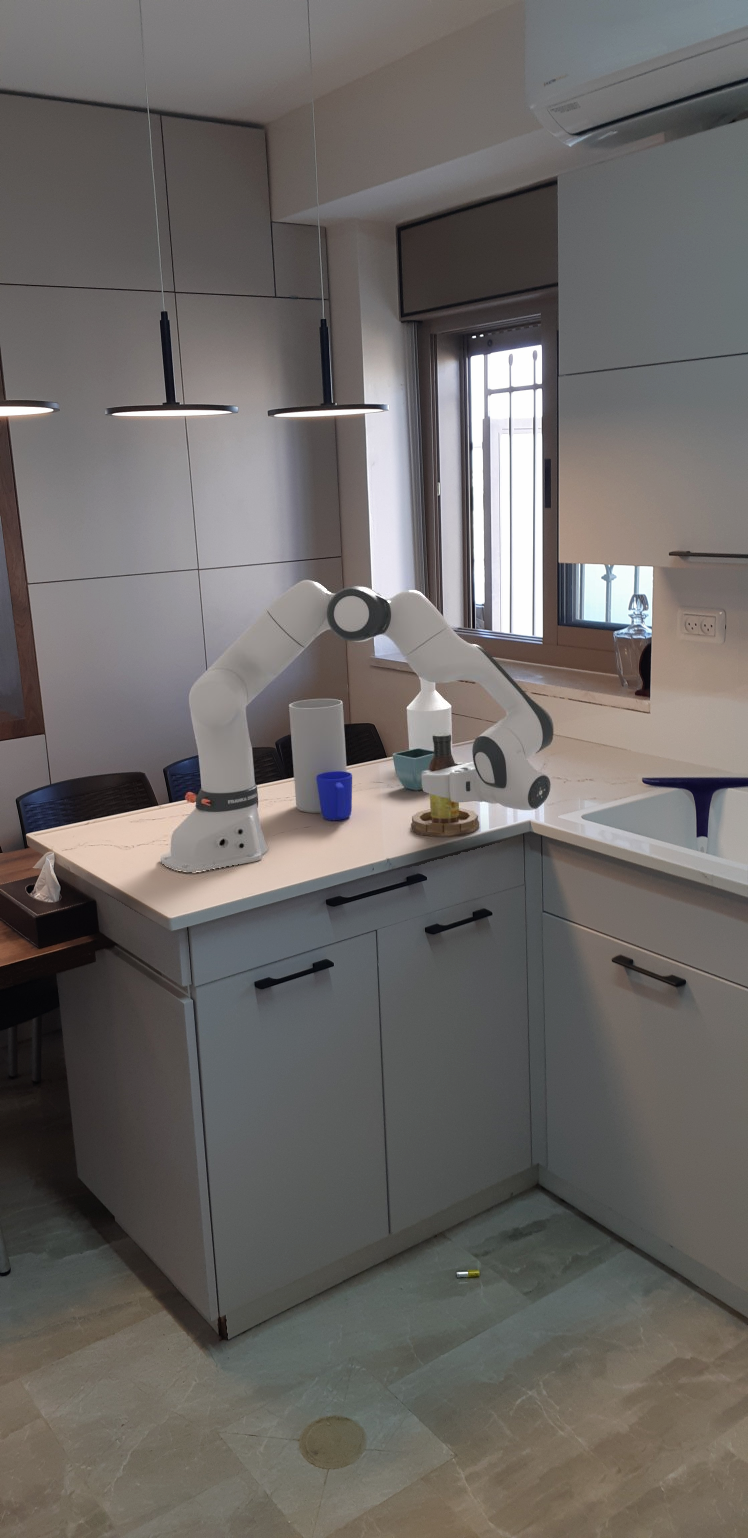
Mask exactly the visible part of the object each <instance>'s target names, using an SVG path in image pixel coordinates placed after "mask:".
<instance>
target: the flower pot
mask: <svg viewBox="0 0 748 1538" xmlns="http://www.w3.org/2000/svg"><path fill="white" fill-rule="evenodd" d="M391 756H392V762H393V766H394V770H395V774H396V777H397V778H398V781H399V782H400V783H401V785H402V787H403V788H404V789H409V790H411V791H412V790H413V791H421V790H423V788H422V774H421V772H422V771H426V770H428V771H430V770H429V765H430V762H431V760H432V759H433V757H434V751H431V750H426V749H421V748H416V749H411V750H409V749H407V750H403V751H399V752H394V753H392V755H391Z"/></svg>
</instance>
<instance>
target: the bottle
mask: <svg viewBox="0 0 748 1538" xmlns="http://www.w3.org/2000/svg"><path fill="white" fill-rule="evenodd" d="M418 679H419V681H420V691H419V693H418V694H417V695H416V696H415V698H413V700H412V701H411V702H410V703H409V704H408V705H407V707H406V719H407V736H408V737H407V738H408V750H411V749H416V748H421V749H426V750H431V751H434V743H433V734H438V733H449V734H451V752H452V753H451V754H452V755H453V732H452V731H453V730H452V729H453V727H452V725H453V723H452V705H451V704H450V703H449V702H448V701H447V700H446V699H444V697H443V696H441V694H440V693H439V692H438V691H437V690H436V683H434V682H429V681H426V680H424V679H422V678H420V677H419V676H418Z"/></svg>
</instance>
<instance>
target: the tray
mask: <svg viewBox="0 0 748 1538" xmlns="http://www.w3.org/2000/svg"><path fill="white" fill-rule="evenodd" d="M431 820H432V819H431V809H426V810H421V811H419V812H416V813H415V814H413V816H411V823H410V830H411V832H413V833H415V834H418V835H421V836H426V837H432V836H433V837H434V838H435V837H436V838H441V837H442V838H449V837H458V836H464V835H467V834H468V835H469V834H471V833H474V832H476V831H477V830H478V829H479V828H480V821H479V815H478V814H477V813H476V812H475V811H474V810H471V809H470V810H469V809H466V808H461V807H459V822H455V823H444V824H443V823H432V821H431ZM475 830H476V831H475ZM473 831H474V832H473ZM433 837H432V838H433Z"/></svg>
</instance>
